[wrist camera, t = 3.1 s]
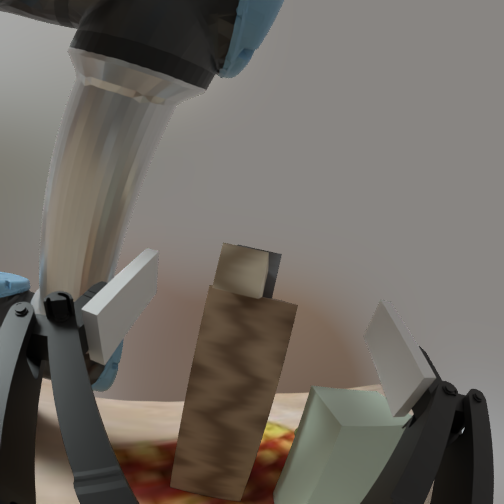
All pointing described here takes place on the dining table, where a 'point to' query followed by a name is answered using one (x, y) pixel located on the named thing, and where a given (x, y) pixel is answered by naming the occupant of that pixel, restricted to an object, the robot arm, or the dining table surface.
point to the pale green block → (338, 447)
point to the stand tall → (230, 392)
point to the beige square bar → (247, 271)
